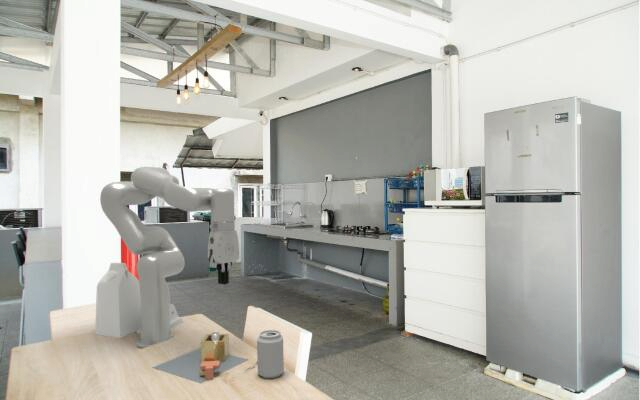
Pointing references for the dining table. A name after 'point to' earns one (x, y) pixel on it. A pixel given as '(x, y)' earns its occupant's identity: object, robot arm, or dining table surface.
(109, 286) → the milk
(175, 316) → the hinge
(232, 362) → the base plate
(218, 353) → the link
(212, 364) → the pink t-shaped block
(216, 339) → the cylinder
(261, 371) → the can
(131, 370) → the dining table surface
